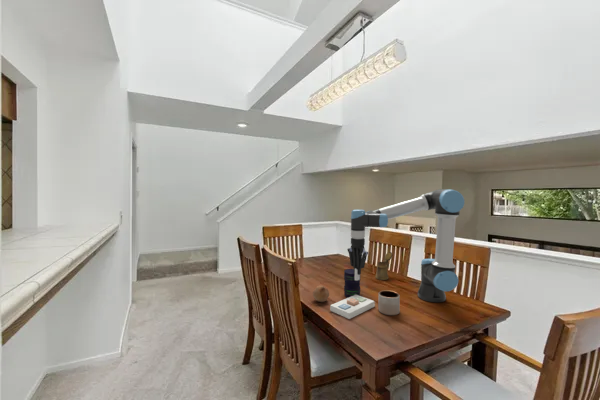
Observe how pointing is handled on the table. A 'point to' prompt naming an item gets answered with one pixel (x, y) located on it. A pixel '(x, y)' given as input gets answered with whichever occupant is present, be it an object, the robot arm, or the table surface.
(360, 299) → the button two dots
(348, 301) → the button three dots
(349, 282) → the navy blue cylinder
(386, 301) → the planter
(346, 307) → the button one dot
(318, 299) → the onion
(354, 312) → the button panel
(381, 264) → the wooden mug
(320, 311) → the table surface
